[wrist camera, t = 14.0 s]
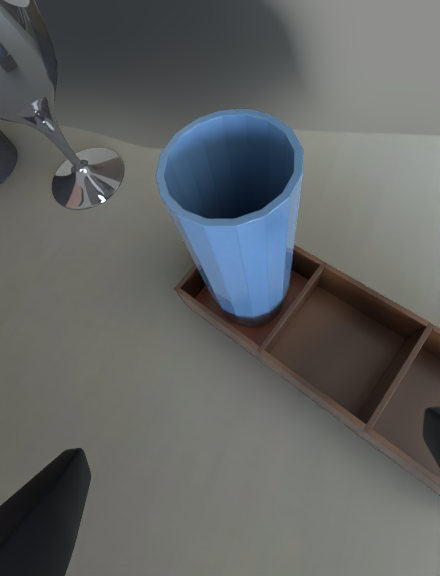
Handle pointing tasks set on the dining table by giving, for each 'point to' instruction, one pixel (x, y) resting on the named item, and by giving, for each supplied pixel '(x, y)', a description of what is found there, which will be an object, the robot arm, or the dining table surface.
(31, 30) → the wine glass
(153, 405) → the dining table surface
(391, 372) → the caddy
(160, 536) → the dining table surface
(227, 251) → the tumbler
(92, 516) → the dining table surface
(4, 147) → the travel mug
